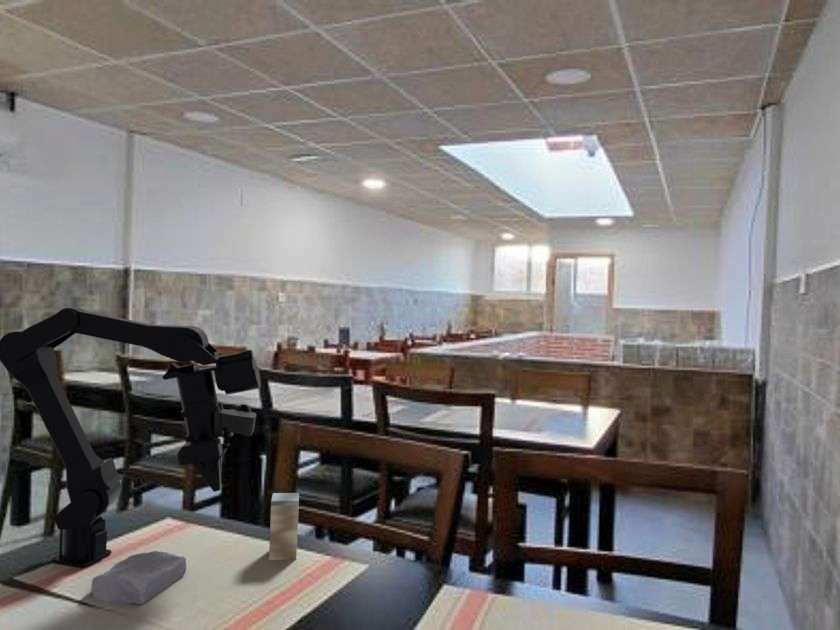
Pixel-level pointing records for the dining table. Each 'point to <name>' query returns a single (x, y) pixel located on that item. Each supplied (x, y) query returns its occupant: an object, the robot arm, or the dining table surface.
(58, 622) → the dining table surface
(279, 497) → the beech block
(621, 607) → the dining table surface
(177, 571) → the stone block
